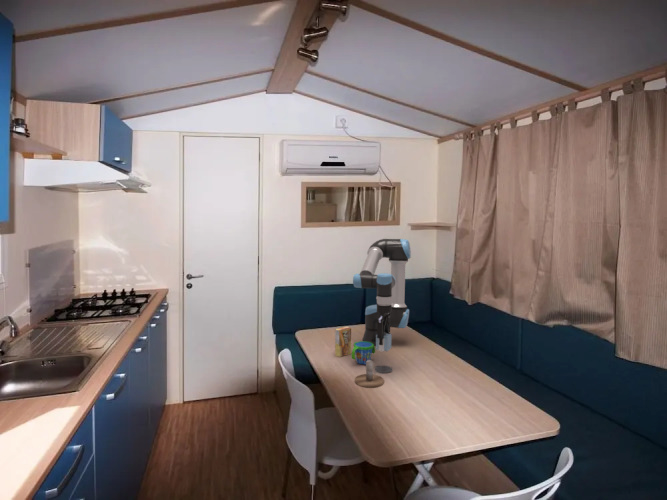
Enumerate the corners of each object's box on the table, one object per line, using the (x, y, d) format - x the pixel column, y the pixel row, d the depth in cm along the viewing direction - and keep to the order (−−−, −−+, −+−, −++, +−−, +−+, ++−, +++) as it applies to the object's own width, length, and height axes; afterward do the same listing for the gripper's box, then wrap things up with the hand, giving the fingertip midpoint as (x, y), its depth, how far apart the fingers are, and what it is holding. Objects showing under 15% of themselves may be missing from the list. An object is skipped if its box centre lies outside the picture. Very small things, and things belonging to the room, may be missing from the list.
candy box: (346, 351, 231) (346, 326, 230) (351, 353, 228) (351, 327, 227) (334, 355, 226) (334, 328, 224) (339, 357, 222) (339, 330, 221)
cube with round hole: (379, 345, 207) (380, 330, 207) (391, 347, 204) (391, 332, 204) (375, 349, 202) (376, 333, 201) (387, 351, 199) (387, 335, 198)
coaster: (371, 369, 206) (371, 367, 205) (384, 365, 211) (384, 364, 210) (382, 374, 198) (382, 373, 198) (396, 370, 203) (396, 369, 203)
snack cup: (368, 356, 223) (368, 339, 223) (380, 362, 215) (381, 344, 214) (345, 362, 215) (346, 344, 214) (357, 368, 206) (357, 349, 205)
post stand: (348, 379, 192) (349, 360, 191) (371, 373, 200) (371, 354, 199) (367, 390, 180) (367, 369, 180) (390, 383, 188) (390, 362, 187)
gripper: (383, 300, 212) (382, 342, 213) (370, 307, 194) (370, 353, 196) (396, 301, 208) (396, 344, 210) (385, 308, 191) (384, 355, 193)
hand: (383, 348), depth 203 cm, fingers closed on cube with round hole, 6 cm apart
